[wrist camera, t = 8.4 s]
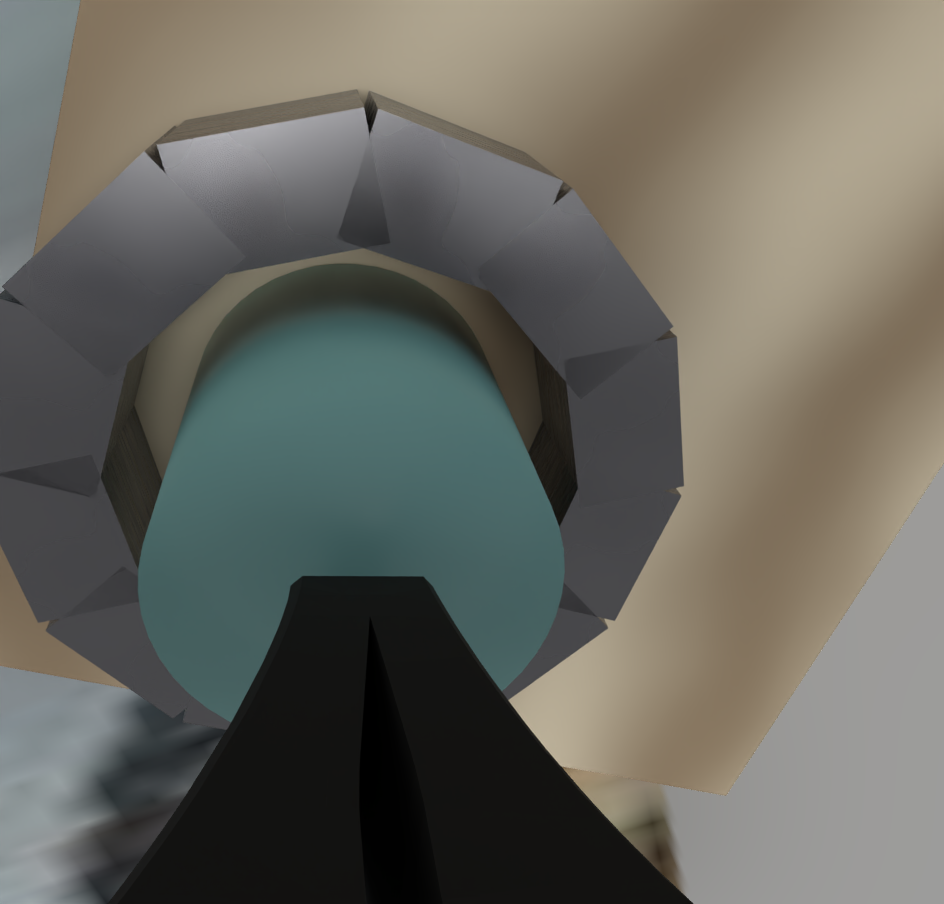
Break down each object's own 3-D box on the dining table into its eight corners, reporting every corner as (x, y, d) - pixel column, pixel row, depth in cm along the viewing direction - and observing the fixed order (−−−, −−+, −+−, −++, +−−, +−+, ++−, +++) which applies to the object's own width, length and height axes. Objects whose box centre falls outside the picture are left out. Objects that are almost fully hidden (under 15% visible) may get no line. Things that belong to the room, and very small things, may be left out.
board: (1298, -187, 14) (1378, -202, 13) (705, 756, 21) (726, 796, 20) (276, -911, 9) (270, -1030, 8) (-19, 616, 17) (-42, 658, 16)
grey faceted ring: (729, 232, 14) (799, 273, 12) (504, 688, 18) (528, 781, 16) (100, -16, 11) (50, -19, 9) (-15, 583, 15) (-70, 679, 13)
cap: (525, 297, 14) (618, 439, 10) (454, 548, 16) (505, 759, 12) (212, 234, 13) (158, 363, 9) (179, 513, 15) (122, 733, 11)
